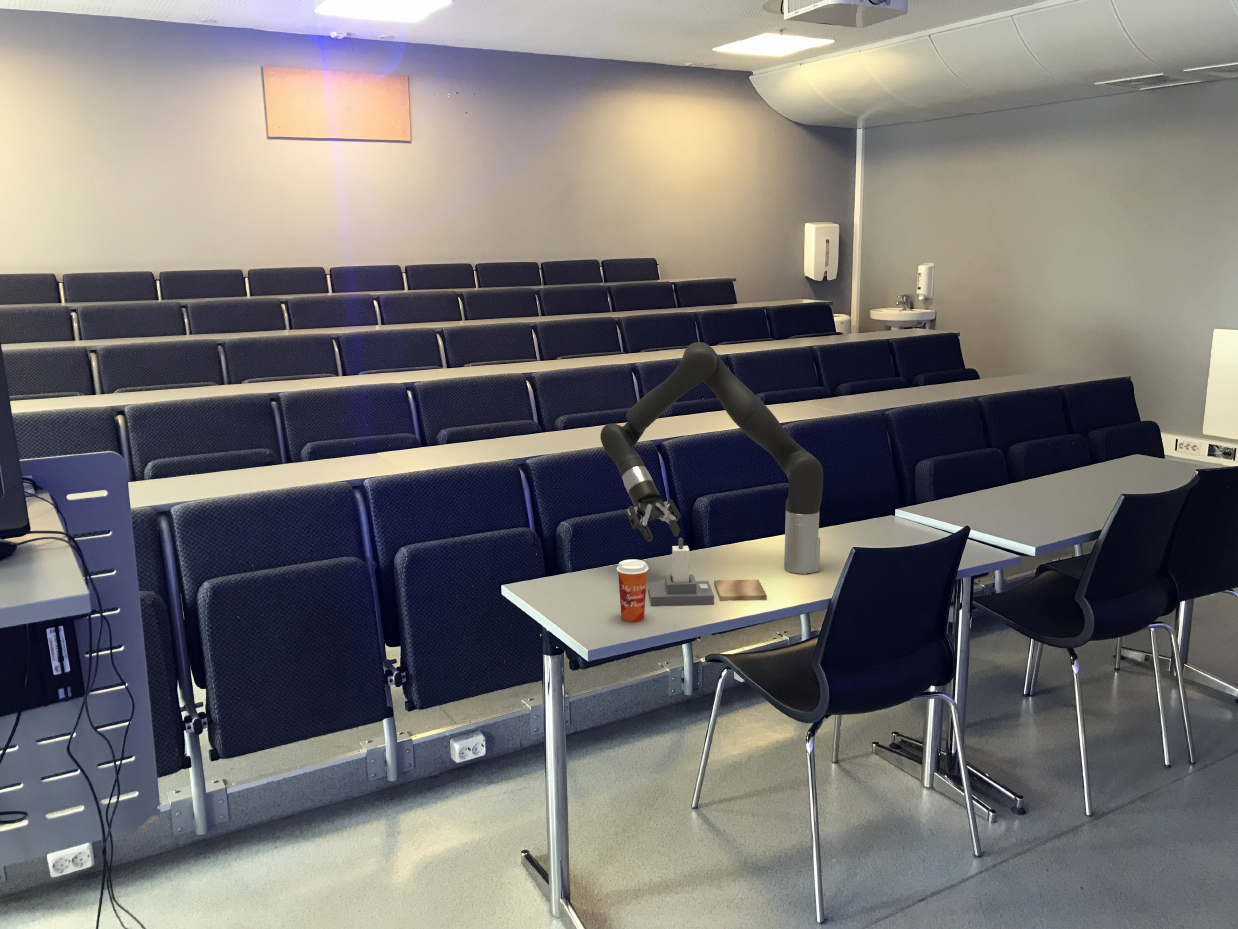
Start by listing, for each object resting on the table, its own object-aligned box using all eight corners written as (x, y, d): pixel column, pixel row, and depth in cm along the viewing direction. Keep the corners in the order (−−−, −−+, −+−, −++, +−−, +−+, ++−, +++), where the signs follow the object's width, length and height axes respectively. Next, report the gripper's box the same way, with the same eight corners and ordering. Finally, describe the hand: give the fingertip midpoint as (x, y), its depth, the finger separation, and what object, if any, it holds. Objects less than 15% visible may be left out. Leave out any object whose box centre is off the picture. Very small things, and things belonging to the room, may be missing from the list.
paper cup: (620, 625, 225) (620, 570, 222) (614, 613, 232) (613, 559, 229) (652, 622, 226) (651, 567, 223) (645, 610, 234) (644, 557, 231)
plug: (687, 585, 244) (687, 535, 241) (689, 591, 240) (689, 540, 237) (672, 586, 244) (672, 535, 241) (673, 591, 240) (673, 540, 237)
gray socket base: (708, 589, 248) (708, 571, 247) (713, 604, 237) (714, 586, 236) (648, 590, 248) (648, 572, 246) (651, 606, 237) (651, 587, 236)
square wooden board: (758, 583, 252) (758, 579, 252) (766, 599, 240) (766, 595, 240) (714, 584, 252) (714, 580, 251) (720, 600, 240) (720, 596, 240)
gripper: (623, 482, 246) (647, 534, 239) (667, 475, 253) (692, 526, 246) (613, 497, 252) (636, 549, 245) (656, 490, 259) (680, 540, 252)
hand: (664, 537), depth 246 cm, fingers open, 8 cm apart
